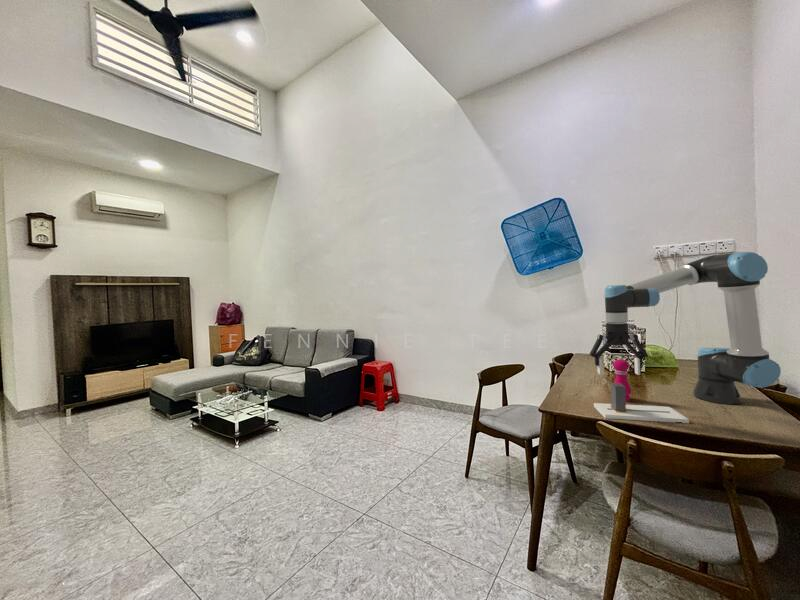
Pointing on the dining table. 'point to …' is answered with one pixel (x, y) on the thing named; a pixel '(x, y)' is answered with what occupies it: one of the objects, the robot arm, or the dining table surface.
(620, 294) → the robot arm
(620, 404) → the fader knob
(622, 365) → the pepper mill
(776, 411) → the dining table surface
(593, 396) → the dining table surface
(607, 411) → the plate
